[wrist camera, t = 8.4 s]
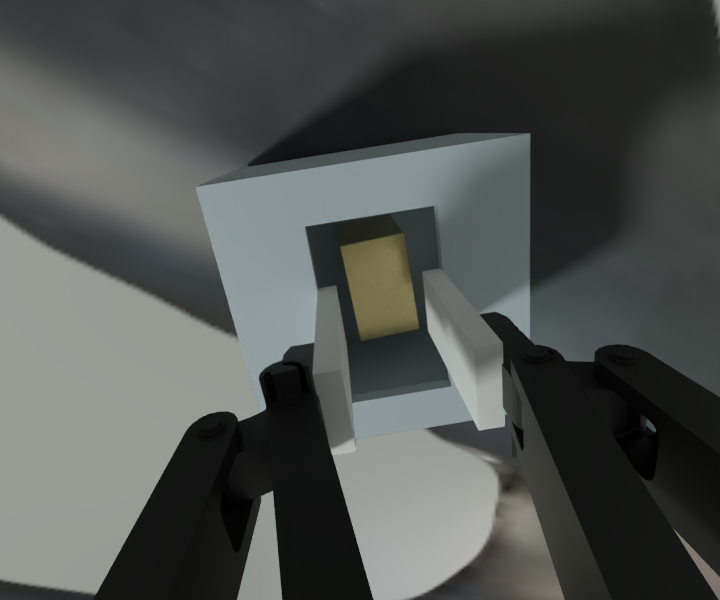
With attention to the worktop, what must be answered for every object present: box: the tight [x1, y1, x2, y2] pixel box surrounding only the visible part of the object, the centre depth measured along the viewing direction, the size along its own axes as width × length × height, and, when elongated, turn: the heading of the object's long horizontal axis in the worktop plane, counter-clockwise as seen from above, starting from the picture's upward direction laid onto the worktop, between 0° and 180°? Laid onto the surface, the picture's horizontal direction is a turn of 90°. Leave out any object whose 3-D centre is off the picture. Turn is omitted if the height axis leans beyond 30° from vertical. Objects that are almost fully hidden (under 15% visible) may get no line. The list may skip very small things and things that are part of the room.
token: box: [338, 214, 419, 341], centre depth 23 cm, size 5×3×5 cm, turn 11°
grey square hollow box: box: [196, 133, 530, 440], centre depth 21 cm, size 12×12×9 cm
